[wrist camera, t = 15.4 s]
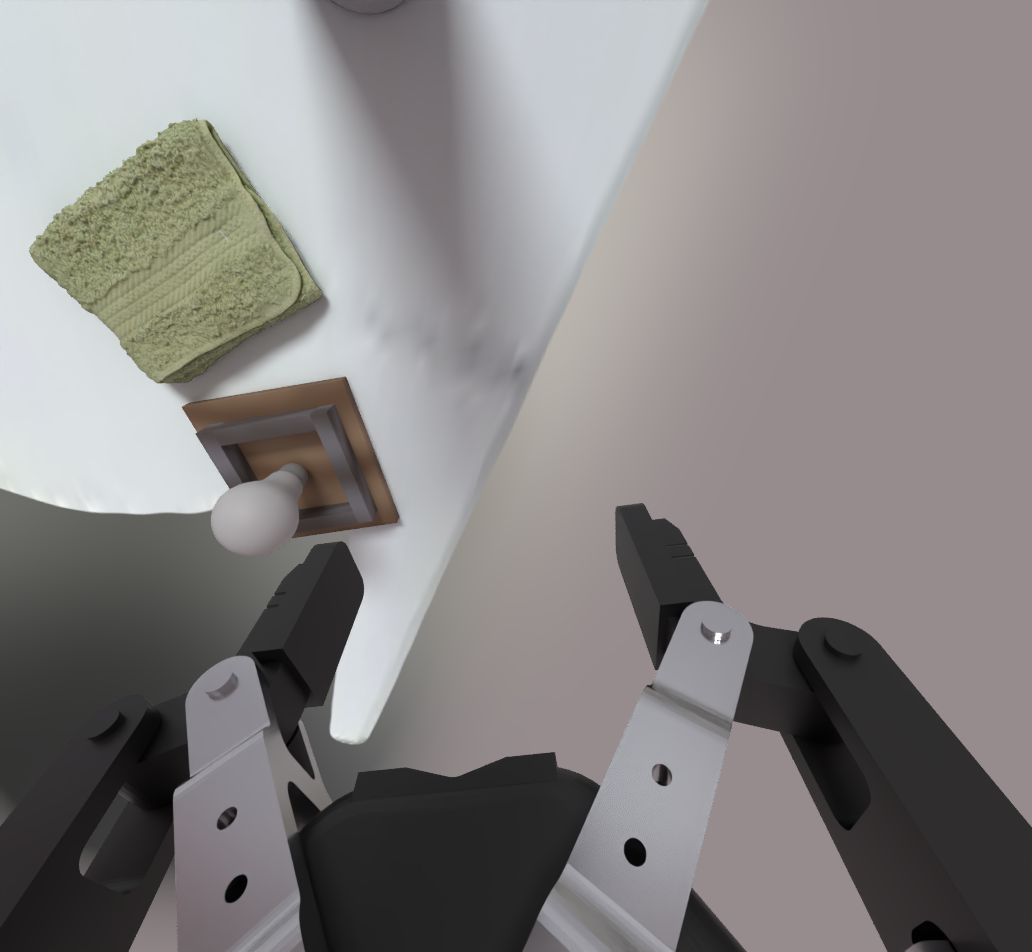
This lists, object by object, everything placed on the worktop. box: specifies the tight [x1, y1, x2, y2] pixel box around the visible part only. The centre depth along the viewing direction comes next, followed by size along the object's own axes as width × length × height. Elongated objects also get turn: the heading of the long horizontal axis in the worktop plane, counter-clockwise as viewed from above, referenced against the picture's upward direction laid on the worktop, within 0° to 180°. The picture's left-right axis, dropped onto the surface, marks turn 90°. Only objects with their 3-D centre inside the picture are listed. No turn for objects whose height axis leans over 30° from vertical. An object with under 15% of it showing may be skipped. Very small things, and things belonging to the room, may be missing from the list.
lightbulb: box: [211, 463, 308, 556], centre depth 35 cm, size 6×6×11 cm
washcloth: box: [29, 118, 323, 383], centre depth 31 cm, size 13×18×3 cm
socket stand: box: [182, 377, 399, 538], centre depth 40 cm, size 16×15×3 cm
